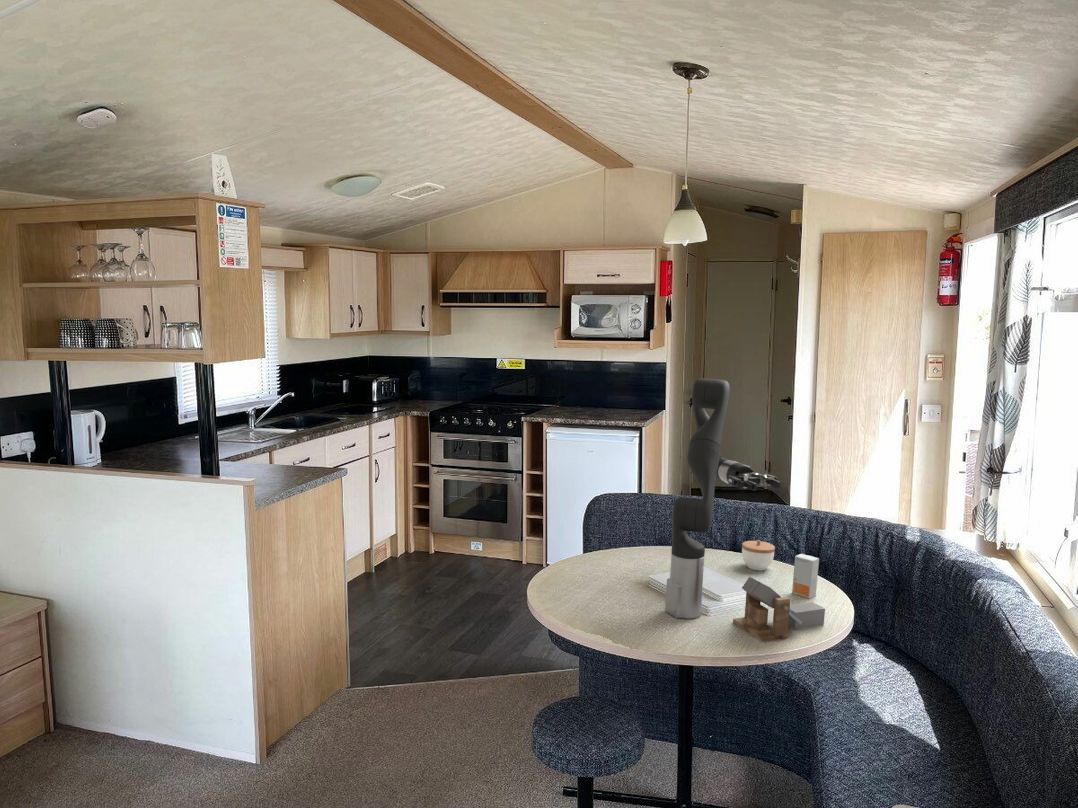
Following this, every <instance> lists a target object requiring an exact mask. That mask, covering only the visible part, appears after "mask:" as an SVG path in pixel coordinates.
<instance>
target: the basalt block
mask: <svg viewBox="0 0 1078 808" xmlns="http://www.w3.org/2000/svg"><path fill="white" fill-rule="evenodd" d="M790 612H791V613H792V614H794V615H795V616H796V617H797V618H798V619H799V620H801V621H802V624H799V623H797V622H795V621H794V620H792V619H790V618H789V624H788V627H790V628H792V629H793V630H799V629H800V630H801V629H806V628H812V627H822V626H824V625H825V616H826V613H825V612H826V608H825V607H824V606H821V605H819V604H817V603H815V602H814V601H812V602H805V603H797V604H790Z"/></svg>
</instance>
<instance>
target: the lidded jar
mask: <svg viewBox="0 0 1078 808" xmlns="http://www.w3.org/2000/svg"><path fill="white" fill-rule="evenodd" d="M775 550H776V546H775V545H773V544H772V543H770V542H767V541H761V539H757V540H746V541H743V542H742V543H741V555H742V561H743V562H744V564H745V565H746V566H747V568H748V569H751V570H753V571H765V570H767V568H768V567H770V566H771V564H772V563H773V561H774V557H775Z"/></svg>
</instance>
